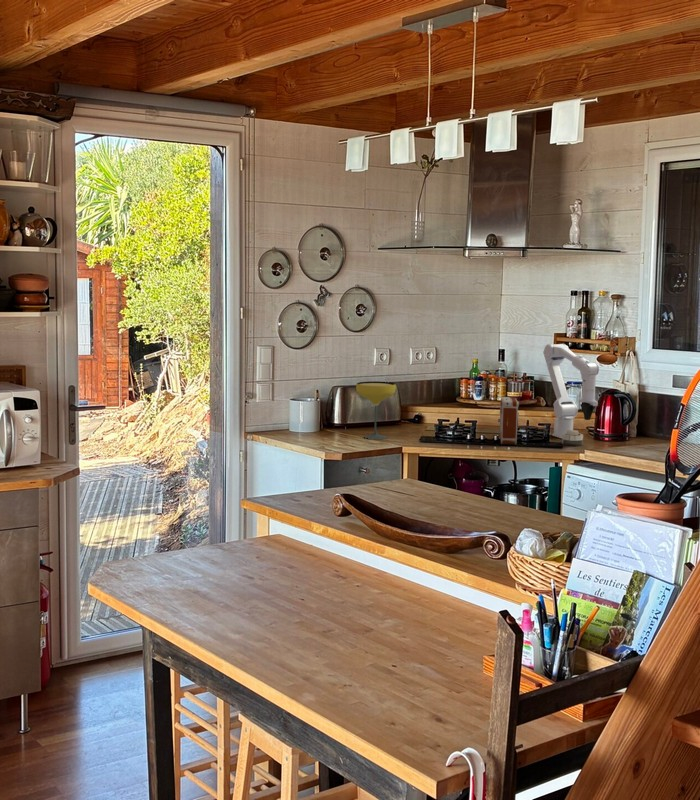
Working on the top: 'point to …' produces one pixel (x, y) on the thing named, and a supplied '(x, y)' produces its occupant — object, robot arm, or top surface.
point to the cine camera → (508, 420)
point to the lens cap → (572, 432)
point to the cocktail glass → (375, 397)
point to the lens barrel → (572, 440)
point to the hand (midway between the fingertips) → (587, 419)
